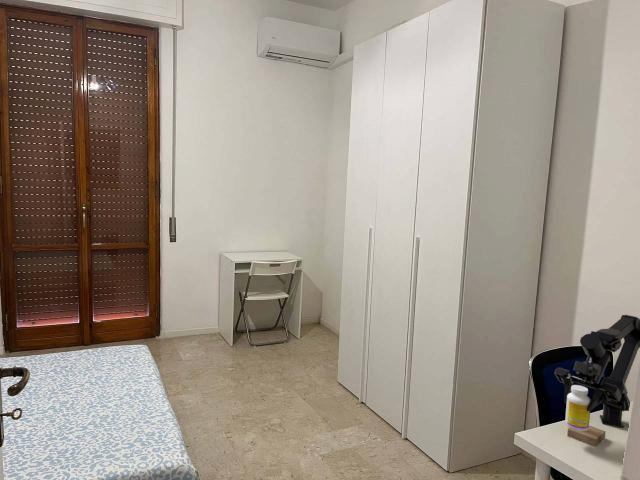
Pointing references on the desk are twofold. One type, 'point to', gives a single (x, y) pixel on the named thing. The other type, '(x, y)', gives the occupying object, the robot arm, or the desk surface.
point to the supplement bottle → (577, 408)
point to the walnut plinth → (588, 435)
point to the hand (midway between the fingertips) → (576, 406)
